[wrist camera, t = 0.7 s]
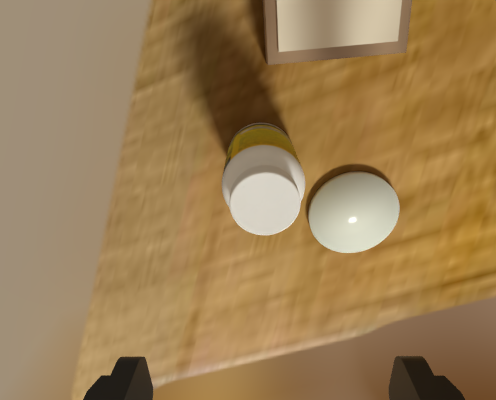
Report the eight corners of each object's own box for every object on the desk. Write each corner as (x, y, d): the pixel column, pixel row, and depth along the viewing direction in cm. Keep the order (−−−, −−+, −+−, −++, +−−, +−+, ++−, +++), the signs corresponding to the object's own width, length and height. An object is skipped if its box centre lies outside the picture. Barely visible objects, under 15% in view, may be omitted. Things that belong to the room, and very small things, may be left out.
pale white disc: (401, 167, 32) (404, 170, 31) (391, 245, 35) (394, 250, 35) (307, 174, 32) (309, 177, 31) (308, 251, 36) (309, 255, 35)
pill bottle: (221, 128, 30) (206, 170, 20) (287, 114, 29) (305, 149, 19) (236, 189, 33) (229, 252, 23) (297, 177, 32) (318, 236, 22)
